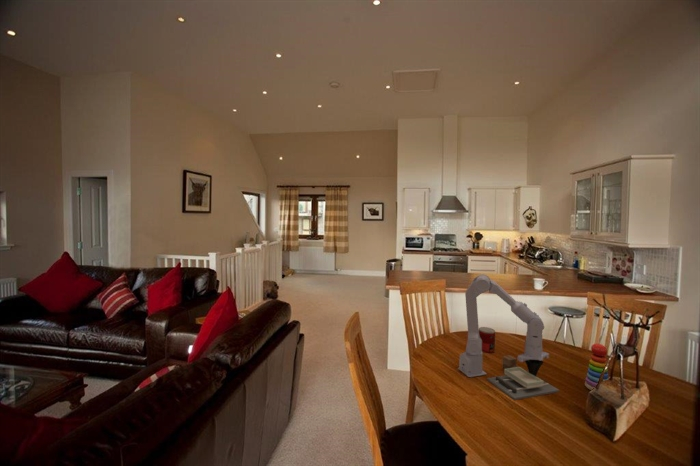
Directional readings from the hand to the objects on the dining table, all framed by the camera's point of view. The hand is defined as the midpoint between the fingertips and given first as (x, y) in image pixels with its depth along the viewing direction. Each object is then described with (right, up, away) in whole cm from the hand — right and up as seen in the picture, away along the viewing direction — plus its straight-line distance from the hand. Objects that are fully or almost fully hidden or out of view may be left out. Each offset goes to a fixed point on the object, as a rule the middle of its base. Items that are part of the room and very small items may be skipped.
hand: (532, 376), depth 127 cm
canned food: (-5, -2, +33) cm, 34 cm away
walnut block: (-4, -3, +12) cm, 12 cm away
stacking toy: (+24, -4, -3) cm, 25 cm away
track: (-5, -3, -1) cm, 6 cm away
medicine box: (+13, -3, +22) cm, 25 cm away
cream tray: (-5, -2, -1) cm, 5 cm away
